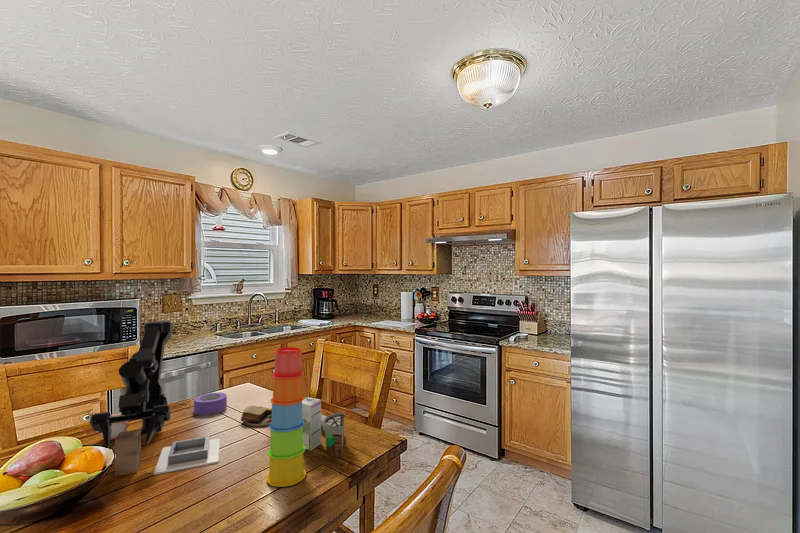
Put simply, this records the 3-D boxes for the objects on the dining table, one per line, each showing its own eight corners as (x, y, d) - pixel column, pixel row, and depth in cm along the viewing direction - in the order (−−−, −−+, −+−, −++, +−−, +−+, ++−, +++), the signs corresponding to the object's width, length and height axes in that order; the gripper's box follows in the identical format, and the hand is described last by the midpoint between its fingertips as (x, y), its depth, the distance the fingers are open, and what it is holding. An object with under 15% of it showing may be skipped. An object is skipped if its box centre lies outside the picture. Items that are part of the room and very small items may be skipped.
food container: (325, 443, 123) (325, 412, 123) (344, 442, 124) (344, 411, 124) (320, 462, 111) (320, 428, 111) (341, 461, 111) (341, 427, 111)
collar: (172, 449, 117) (172, 441, 117) (209, 443, 121) (209, 435, 121) (168, 465, 108) (168, 456, 108) (207, 458, 112) (207, 449, 112)
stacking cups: (258, 478, 102) (259, 350, 102) (291, 463, 110) (291, 344, 110) (280, 493, 96) (280, 356, 96) (313, 476, 104) (314, 349, 104)
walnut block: (119, 467, 108) (119, 432, 108) (140, 463, 110) (140, 429, 110) (114, 476, 103) (114, 439, 103) (136, 472, 106) (136, 436, 106)
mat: (163, 449, 119) (163, 447, 119) (219, 439, 125) (219, 438, 125) (153, 474, 104) (153, 473, 104) (218, 462, 111) (218, 461, 111)
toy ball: (94, 445, 121) (94, 420, 121) (103, 435, 128) (103, 412, 128) (124, 441, 124) (124, 417, 124) (131, 431, 131) (131, 409, 131)
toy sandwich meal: (268, 429, 134) (268, 416, 133) (235, 426, 136) (235, 413, 136) (287, 416, 146) (287, 403, 146) (255, 413, 149) (255, 400, 149)
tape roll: (198, 405, 156) (198, 393, 156) (229, 403, 159) (229, 391, 159) (190, 416, 145) (190, 403, 145) (223, 413, 148) (223, 400, 148)
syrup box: (321, 443, 123) (322, 398, 123) (310, 451, 117) (310, 404, 117) (307, 440, 125) (307, 396, 125) (295, 447, 120) (295, 401, 120)
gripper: (91, 385, 107) (77, 441, 97) (169, 377, 114) (163, 428, 104) (100, 404, 114) (87, 458, 104) (172, 395, 122) (167, 445, 112)
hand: (127, 446), depth 106 cm, fingers open, 9 cm apart
